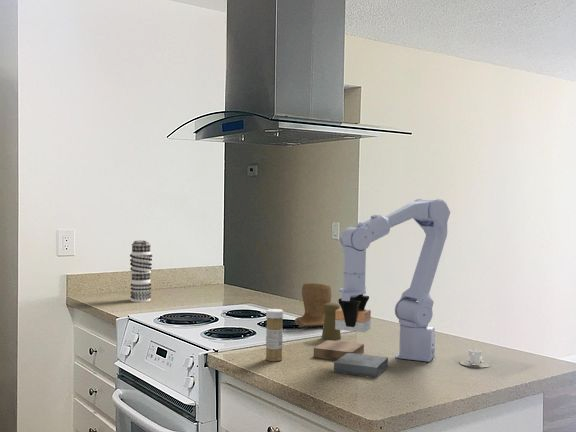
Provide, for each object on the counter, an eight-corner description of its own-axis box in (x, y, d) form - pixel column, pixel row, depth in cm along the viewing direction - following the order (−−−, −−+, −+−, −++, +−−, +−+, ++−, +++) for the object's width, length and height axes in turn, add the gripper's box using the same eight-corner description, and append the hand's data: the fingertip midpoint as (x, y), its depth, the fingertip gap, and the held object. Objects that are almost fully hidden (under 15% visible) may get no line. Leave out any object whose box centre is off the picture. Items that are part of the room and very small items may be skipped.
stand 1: (363, 352, 177) (364, 343, 177) (352, 361, 167) (352, 352, 167) (327, 348, 181) (327, 340, 181) (313, 357, 171) (313, 348, 171)
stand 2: (387, 367, 162) (388, 357, 162) (376, 377, 152) (376, 367, 152) (347, 362, 166) (347, 352, 166) (333, 372, 156) (333, 362, 156)
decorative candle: (144, 302, 257) (145, 241, 256) (125, 301, 259) (125, 241, 259) (156, 299, 265) (156, 240, 265) (136, 298, 268) (137, 239, 267)
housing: (370, 328, 165) (370, 309, 164) (364, 332, 160) (364, 312, 160) (341, 325, 168) (342, 307, 168) (335, 329, 163) (335, 310, 163)
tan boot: (323, 320, 223) (323, 279, 223) (341, 327, 213) (342, 283, 212) (286, 324, 216) (286, 281, 215) (303, 331, 205) (304, 285, 205)
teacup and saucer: (471, 360, 172) (471, 345, 172) (497, 366, 166) (497, 350, 166) (452, 365, 166) (453, 349, 166) (479, 371, 160) (479, 355, 160)
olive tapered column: (329, 335, 199) (329, 301, 199) (344, 338, 195) (345, 303, 195) (317, 338, 194) (318, 303, 194) (333, 341, 191) (334, 305, 190)
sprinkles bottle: (273, 356, 171) (274, 307, 170) (286, 359, 168) (286, 309, 167) (261, 359, 167) (262, 309, 167) (274, 362, 164) (274, 312, 164)
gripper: (348, 269, 172) (347, 318, 172) (330, 274, 159) (329, 328, 159) (373, 271, 169) (372, 321, 169) (357, 276, 156) (356, 330, 156)
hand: (353, 324), depth 164 cm, fingers closed on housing, 5 cm apart
